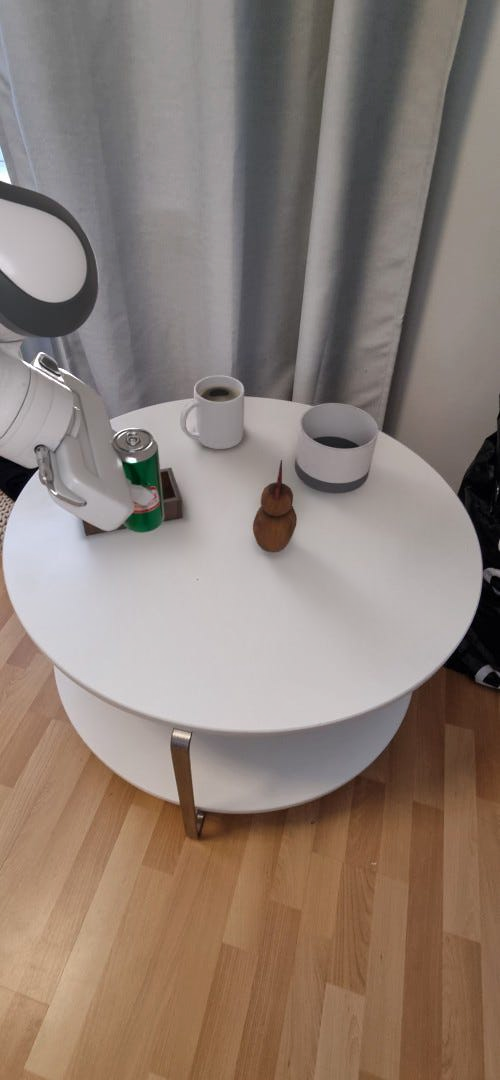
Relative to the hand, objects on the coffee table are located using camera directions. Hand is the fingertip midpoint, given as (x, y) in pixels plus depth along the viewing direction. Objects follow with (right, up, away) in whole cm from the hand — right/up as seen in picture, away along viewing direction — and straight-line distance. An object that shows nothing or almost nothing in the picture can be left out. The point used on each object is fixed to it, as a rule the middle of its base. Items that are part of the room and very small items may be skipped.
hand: (143, 478), depth 66 cm
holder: (-7, -2, +30) cm, 31 cm away
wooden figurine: (+16, -8, +26) cm, 31 cm away
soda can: (-1, -5, +5) cm, 7 cm away
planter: (+26, +4, +38) cm, 46 cm away
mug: (+5, +12, +44) cm, 46 cm away
